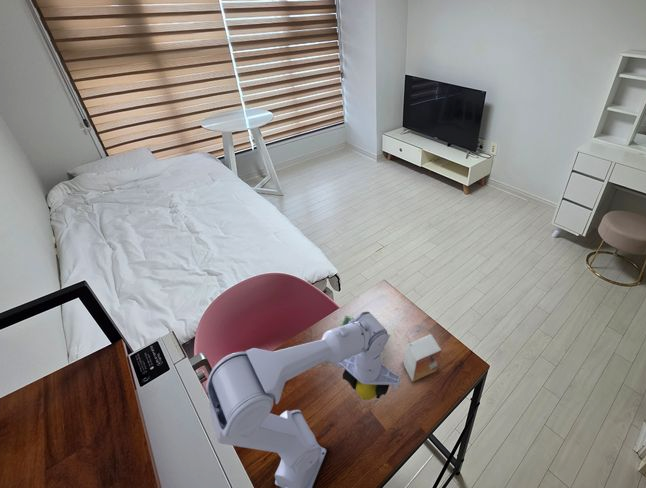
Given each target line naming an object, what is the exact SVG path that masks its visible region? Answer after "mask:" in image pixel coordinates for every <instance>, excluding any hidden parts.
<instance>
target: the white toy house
mask: <svg viewBox="0 0 646 488" xmlns="http://www.w3.org/2000/svg"><path fill="white" fill-rule="evenodd" d="M441 354H442V349H441V347H440V346H439V344H438V342H437V340H436V338H434V336H433V334H432V333H429V334H427V335H425V336H422V337H420V338H418V339H415V340H412V341H410V342H407V343H406V345H405V353H404V360H403V366H404V368H405V370H406V372H407V374H408V376H409V378H410V379H411V380H410V381H412V383H413V382H416V381H418V380H420V379H422V378H425V377H426V376H428V375H431V374H433V373H436V372H437V370H438V365H439V362H440V358H441V356H442V355H441Z"/></svg>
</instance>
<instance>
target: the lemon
mask: <svg viewBox="0 0 646 488" xmlns="http://www.w3.org/2000/svg"><path fill="white" fill-rule="evenodd" d="M376 388H377V385H366V384H363V383H361V382H359V381H358V380H357V381H356V390H355V391H356V394H357V395H358V397H359V398H361V400H364V401H370V400H373V399H375V398H376V396H377V392H376Z"/></svg>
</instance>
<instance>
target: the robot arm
mask: <svg viewBox="0 0 646 488" xmlns="http://www.w3.org/2000/svg"><path fill="white" fill-rule="evenodd" d="M353 318H354V319H352V320H351V321H349V323H348V324H346V325H343V326H340V325H339V326H337V327H335V328H332V329H329V330H326V331H325V332H324V333H323V335H322V337H321V339H318V340H313V341H310V342H306V343H301V344H298V345H293V346H289V347H286V348H282V349H278V350H273V351H271V350H268V349H267V350H266V349H263V348H256V347H252V348H250V349H247V350H245V351H236V352H233V353H230V354H228V355H226V356H224V357H222V358H221V359H220V360H219V361H217V363H216V364H215V365H214V366H213V368H212V369H211V371H210V373H209V376H208V378H207V380H206V382H205V386H206V387H205V389H206V392H207V396H208V397H207V398H208V401H209V408H210V409H209V410H210V414H211V415H210V417H211V424H212V427H213V431H214V433H215V436H216V438H217V442H218V443H219V444H221V445H227V446H233V447H239V448H246V449H251V450H256V451H257V450H258V451H263V452H269V453H275V454H277V455H278V456H279V457H280V462H279V465H278V467H277V469H276V471H275V473H274V479H275V481H274V484H275V485H276V486H277V487H279V488H313V487H314V483H315V481H316V479H317V476H318V474H319V471H320V469H321V466H322V463H323V461H324V459H325V456H326V453H327V449H326V448H325V447H322V446H321V445H320V444H319V442H318V441H317V438H316V435H315V434H314V432H313V431H312V430H311V428H310V427H309V425H308V423H307V421H306V419H305V417H304V416H303V412H302V410H300V409H292V410H285V411H283V412H282V413H281V414H280V415H277V414H274V413H271V411H272V409H273V407H274V403H275V405H278V404H279V403H280V401H281V397H282V394H283V390H284V389H285V388H284V387H285V385H286V382H287V381H290V380H291V379H294V378H295V377H297V376H299V375H301V374H303V373H305V372H307V371H309V370H310V369H312V368H314V367H316V366H318V365H320V364H322V363H324V362H326V361H327V362H329V363H331V364H336V365H337V368H340V369H342V368H344V370H343V373H342V380H345V381H347V382H348V383H349V385H350V386H351V388H352V389H353V390H355V391H356V381H357V380H358V381H359V382H361V383H363V384H366V385H377V388H376V392H377V395H376V396H375V398H376V399H378V400H380V398H381V397H382V396H383V395H384V396H385V395H387V393H388V391H389V388H390V386H392V388H393V389H395V390H398V388H399V385H400V382H401V375H398V374H396V373H394V371H392V370H391V369H389V368H388V367H387V366H386V365H384V364H383V363H382V357H383V352H384V351H385V346H386V345H387V343H388V341H389V340H390V335H391V334H388V331H387V329H386V328H385V327H384V326H383V325H382V324H381V322H380V321H379V320H378V319H377V318H376V317H375V316H374V315H373V314H372V313H371V312H370V311H362V312H360V313H358V314H357V315H356V316H355V317H353Z"/></svg>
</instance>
